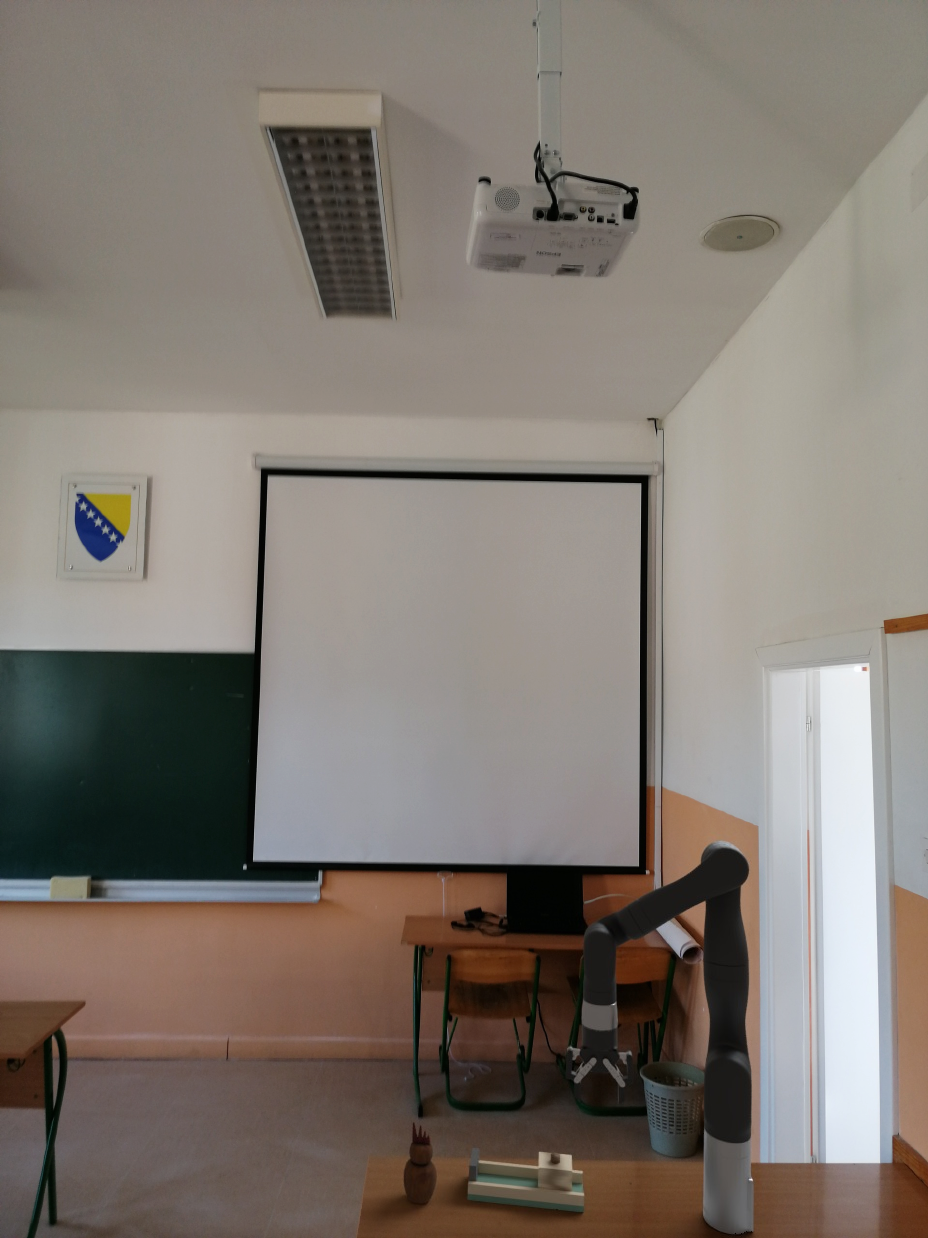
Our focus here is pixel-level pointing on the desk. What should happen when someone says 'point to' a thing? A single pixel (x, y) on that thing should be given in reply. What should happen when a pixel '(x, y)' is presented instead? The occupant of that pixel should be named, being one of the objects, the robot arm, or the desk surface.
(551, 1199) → the rail
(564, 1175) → the cream knobbed cube
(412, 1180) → the wooden figurine
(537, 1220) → the desk surface
